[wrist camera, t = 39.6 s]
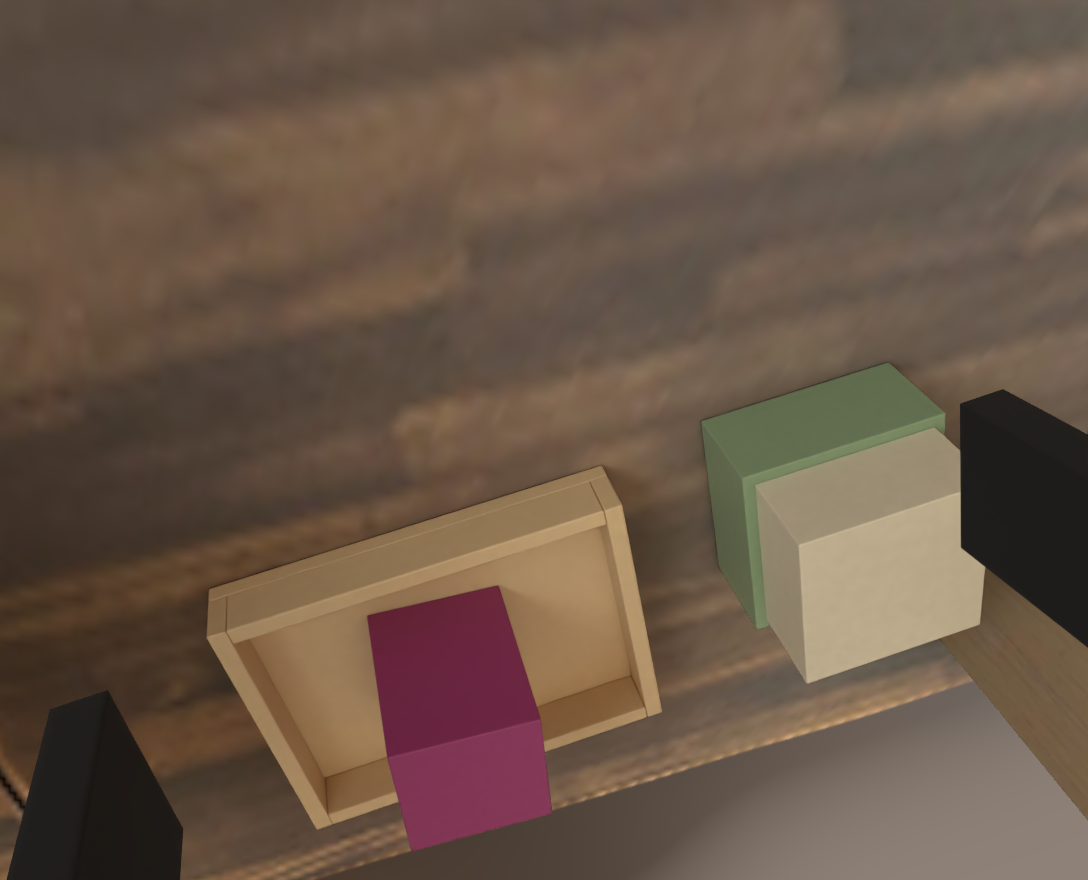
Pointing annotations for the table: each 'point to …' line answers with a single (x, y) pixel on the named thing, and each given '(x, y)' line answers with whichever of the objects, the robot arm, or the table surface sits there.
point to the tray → (425, 575)
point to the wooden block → (1032, 681)
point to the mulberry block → (458, 717)
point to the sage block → (797, 455)
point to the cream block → (867, 555)
